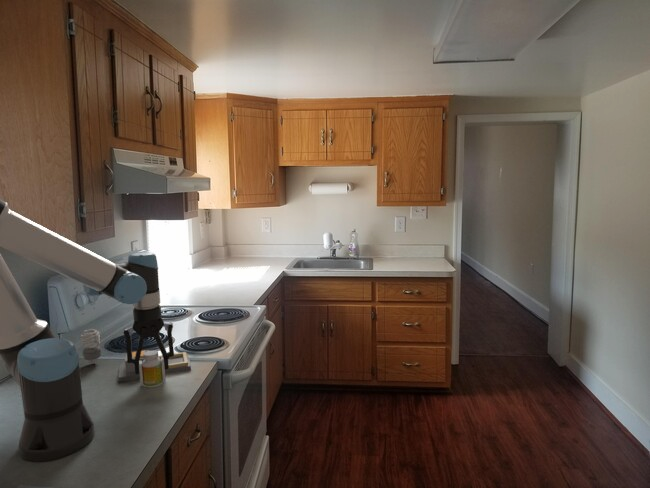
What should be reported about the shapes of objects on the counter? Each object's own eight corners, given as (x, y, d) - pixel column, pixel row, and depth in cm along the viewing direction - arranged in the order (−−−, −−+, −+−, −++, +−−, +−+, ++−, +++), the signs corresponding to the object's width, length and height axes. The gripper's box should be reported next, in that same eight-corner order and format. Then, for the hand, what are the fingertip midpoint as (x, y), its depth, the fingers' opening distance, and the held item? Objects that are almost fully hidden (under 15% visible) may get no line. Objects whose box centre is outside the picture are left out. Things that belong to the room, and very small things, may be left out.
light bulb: (106, 360, 153) (102, 326, 151) (96, 367, 147) (92, 332, 146) (90, 360, 153) (86, 326, 152) (79, 367, 148) (76, 332, 146)
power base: (118, 382, 136) (117, 364, 136) (120, 368, 147) (119, 352, 146) (191, 370, 144) (189, 353, 143) (188, 357, 154) (187, 342, 153)
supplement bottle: (159, 388, 132) (156, 356, 131) (140, 388, 132) (137, 356, 131) (165, 379, 137) (163, 349, 136) (147, 380, 137) (145, 349, 136)
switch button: (130, 368, 140) (129, 357, 140) (130, 362, 144) (129, 352, 144) (145, 365, 142) (145, 355, 141) (146, 360, 146) (145, 350, 145)
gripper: (179, 299, 138) (184, 371, 141) (112, 306, 131) (120, 381, 135) (180, 305, 131) (186, 381, 134) (110, 313, 124) (118, 392, 128)
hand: (153, 381), depth 135 cm, fingers closed on supplement bottle, 5 cm apart
